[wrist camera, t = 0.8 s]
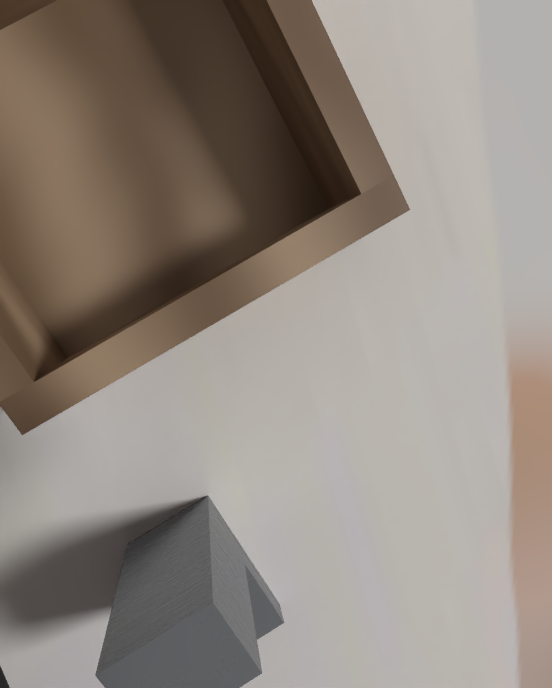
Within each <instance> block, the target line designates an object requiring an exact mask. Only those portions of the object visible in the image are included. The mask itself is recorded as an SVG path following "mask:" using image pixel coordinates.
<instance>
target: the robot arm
mask: <svg viewBox="0 0 552 688" xmlns="http://www.w3.org/2000/svg"><path fill="white" fill-rule="evenodd" d="M0 688H10V687H9V685H8V683H7V680H6V678H5V676H4V674H3V671H2V669H1V667H0Z"/></svg>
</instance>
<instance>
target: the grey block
mask: <svg viewBox="0 0 552 688" xmlns="http://www.w3.org/2000/svg"><path fill="white" fill-rule="evenodd" d="M283 623H284V620H283V616H282V612H281V608H280V604H279V603H278V601H277V600H276V598H275V597H274V595H273V594H272V592H271V591H270V589H269V588H268V586H267V584H266V583H265V581H264V580H263V578H262V577H261V575H260V574H259V572H258V571H257V569H256V568H255V566H254V565H253V563H252V562H251V560H250V559H249V557H248V556H247V554H246V553H245V551H244V550H243V548H242V547H241V545H240V544H239V542H238V540H237V539H236V537H235V536H234V534H233V533H232V531H231V530H230V528H229V527H228V525H227V524H226V522H225V521H224V519H223V518H222V516H221V515H220V513H219V512H218V510H217V509H216V507H215V506H214V504H213V503H212V501H211V499H210V498H209V496H207V497H205V498H203V499H202V500H200V501H198V502H197V503H195V504H193V505H192V506H190V507H188V508H187V509H185V510H183V511H182V512H180V513H178V514H177V515H175V516H173V517H172V518H170V519H168V520H167V521H165V522H163V523H162V524H160V525H158V526H157V527H155V528H153V529H152V530H150V531H149V532H147V533H145V534H144V535H142V536H140V537H139V538H137V539H135V540H134V541H132V542H130V543H129V544H128V546H127V550H126V554H125V558H124V562H123V566H122V570H121V574H120V578H119V582H118V586H117V590H116V594H115V598H114V602H113V606H112V610H111V614H110V618H109V622H108V626H107V630H106V635H105V639H104V643H103V647H102V651H101V655H100V659H99V663H98V667H97V671H96V675H95V676H96V677H97V678H98V679H99V681H100V682H101V683H102V684H103V685H104V687H105V688H239V687H241V686H243V685H244V684H246V683H247V682H249V681H250V680H252V679H254V678H255V677H257V676H258V675H260V674H262V669H261V663H260V657H259V650H258V644H257V639H259V638H260V637H262V636H264V635H265V634H267V633H268V632H270V631H271V630H273V629H275V628H276V627H278V626H279V625H281V624H283Z"/></svg>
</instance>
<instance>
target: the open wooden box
mask: <svg viewBox="0 0 552 688" xmlns="http://www.w3.org/2000/svg"><path fill="white" fill-rule="evenodd" d="M409 210H410V209H409V207H408V204H407V202H406V200H405V198H404V196H403V194H402V192H401V190H400V187H399V185H398V183H397V181H396V179H395V177H394V175H393V173H392V170H391V168H390V166H389V164H388V162H387V160H386V158H385V156H384V153H383V151H382V149H381V147H380V145H379V143H378V141H377V139H376V136H375V134H374V132H373V130H372V128H371V126H370V124H369V121H368V119H367V117H366V115H365V113H364V111H363V109H362V107H361V104H360V102H359V100H358V98H357V96H356V94H355V92H354V90H353V87H352V85H351V83H350V81H349V79H348V77H347V75H346V73H345V70H344V68H343V66H342V64H341V62H340V60H339V58H338V56H337V53H336V51H335V49H334V47H333V45H332V43H331V41H330V39H329V36H328V34H327V32H326V30H325V28H324V26H323V24H322V22H321V19H320V17H319V15H318V13H317V11H316V9H315V7H314V5H313V2H312V0H0V406H1V407H2V408H3V410H4V411H5V412H6V414H7V415H8V416H9V418H10V419H11V420H12V422H13V423H14V425H15V426H16V427H17V429H18V430H19V431H20V433H21V434H22V435H23V434H25V433H27V432H28V431H30V430H32V429H34V428H35V427H37V426H39V425H40V424H42V423H44V422H46V421H47V420H49V419H51V418H52V417H54V416H56V415H58V414H59V413H61V412H63V411H64V410H66V409H68V408H70V407H71V406H73V405H75V404H77V403H78V402H80V401H82V400H83V399H85V398H87V397H89V396H90V395H92V394H94V393H95V392H97V391H99V390H101V389H102V388H104V387H106V386H108V385H109V384H111V383H113V382H114V381H116V380H118V379H120V378H121V377H123V376H125V375H126V374H128V373H130V372H132V371H133V370H135V369H137V368H138V367H140V366H142V365H144V364H145V363H147V362H149V361H151V360H152V359H154V358H156V357H157V356H159V355H161V354H163V353H164V352H166V351H168V350H169V349H171V348H173V347H175V346H176V345H178V344H180V343H182V342H183V341H185V340H187V339H188V338H190V337H192V336H194V335H195V334H197V333H199V332H200V331H202V330H204V329H206V328H207V327H209V326H211V325H212V324H214V323H216V322H218V321H219V320H221V319H223V318H225V317H226V316H228V315H230V314H231V313H233V312H235V311H237V310H238V309H240V308H242V307H243V306H245V305H247V304H249V303H250V302H252V301H254V300H256V299H257V298H259V297H261V296H262V295H264V294H266V293H268V292H269V291H271V290H273V289H274V288H276V287H278V286H280V285H281V284H283V283H285V282H286V281H288V280H290V279H292V278H293V277H295V276H297V275H299V274H300V273H302V272H304V271H305V270H307V269H309V268H311V267H312V266H314V265H316V264H317V263H319V262H321V261H323V260H324V259H326V258H328V257H330V256H331V255H333V254H335V253H336V252H338V251H340V250H342V249H343V248H345V247H347V246H348V245H350V244H352V243H354V242H355V241H357V240H359V239H360V238H362V237H364V236H366V235H367V234H369V233H371V232H373V231H374V230H376V229H378V228H379V227H381V226H383V225H385V224H386V223H388V222H390V221H391V220H393V219H395V218H397V217H398V216H400V215H402V214H404V213H405V212H407V211H409Z"/></svg>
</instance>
